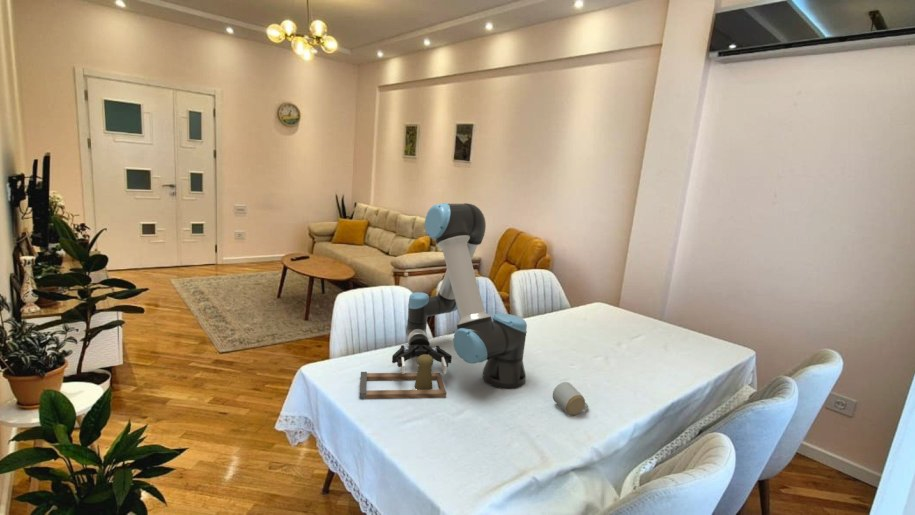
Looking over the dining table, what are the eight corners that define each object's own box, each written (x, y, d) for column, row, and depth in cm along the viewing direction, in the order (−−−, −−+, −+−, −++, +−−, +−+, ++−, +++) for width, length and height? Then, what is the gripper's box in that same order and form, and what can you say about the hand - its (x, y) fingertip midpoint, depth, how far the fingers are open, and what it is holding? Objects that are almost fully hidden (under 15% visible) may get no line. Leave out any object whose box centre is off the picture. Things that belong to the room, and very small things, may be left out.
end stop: (366, 377, 153) (366, 371, 153) (365, 399, 140) (366, 393, 139) (360, 377, 153) (360, 371, 152) (359, 399, 139) (359, 393, 139)
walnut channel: (439, 376, 158) (440, 372, 157) (446, 397, 144) (446, 393, 144) (366, 377, 153) (366, 373, 153) (365, 399, 140) (366, 394, 139)
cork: (418, 392, 146) (420, 361, 143) (411, 384, 151) (413, 353, 149) (435, 389, 149) (437, 358, 146) (428, 381, 154) (430, 351, 151)
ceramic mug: (565, 418, 138) (569, 395, 137) (550, 404, 146) (553, 382, 144) (593, 414, 143) (597, 391, 141) (577, 400, 150) (581, 379, 148)
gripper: (451, 352, 170) (461, 380, 150) (383, 352, 166) (385, 380, 145) (452, 333, 169) (463, 359, 148) (384, 333, 164) (386, 359, 144)
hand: (424, 369), depth 147 cm, fingers open, 13 cm apart
